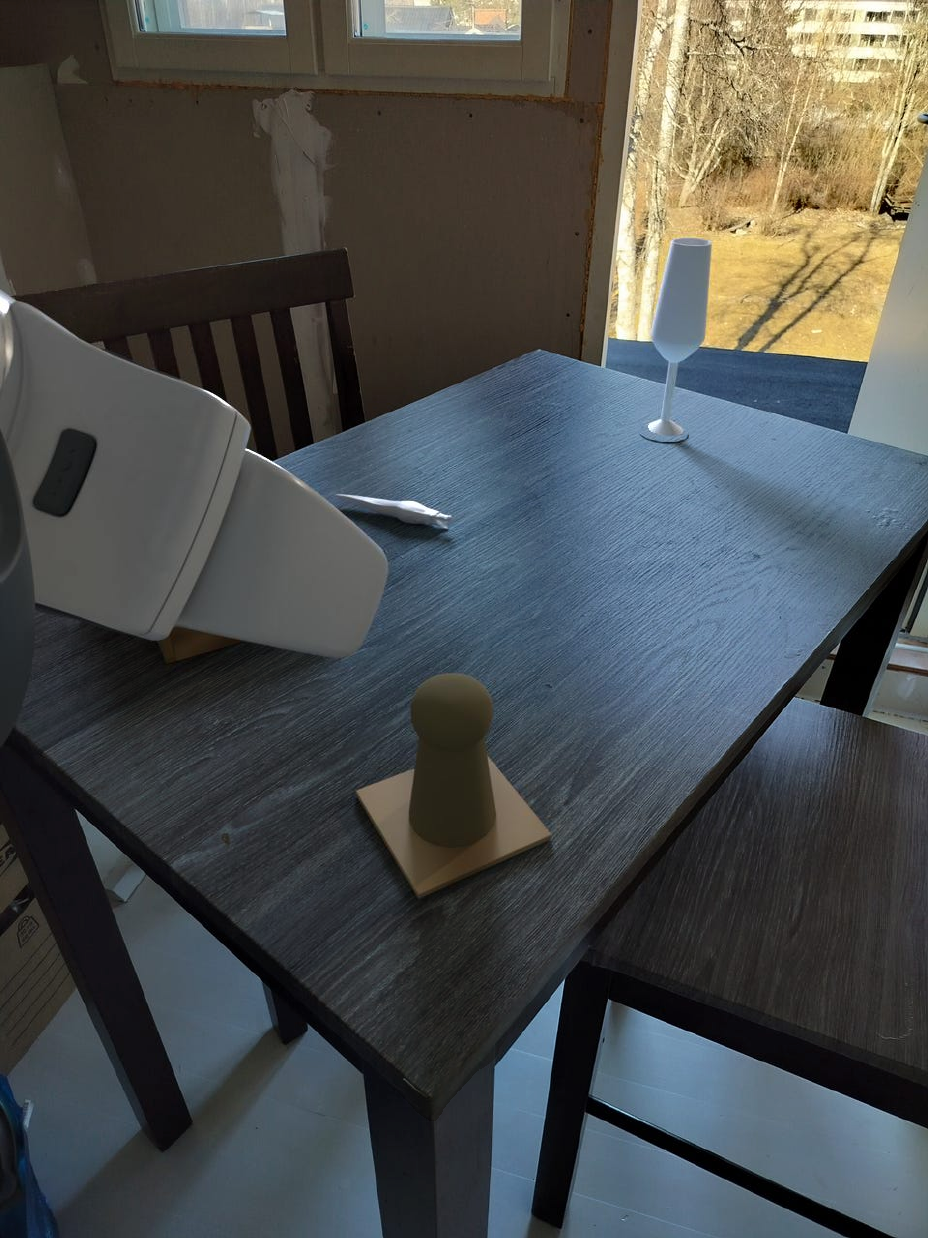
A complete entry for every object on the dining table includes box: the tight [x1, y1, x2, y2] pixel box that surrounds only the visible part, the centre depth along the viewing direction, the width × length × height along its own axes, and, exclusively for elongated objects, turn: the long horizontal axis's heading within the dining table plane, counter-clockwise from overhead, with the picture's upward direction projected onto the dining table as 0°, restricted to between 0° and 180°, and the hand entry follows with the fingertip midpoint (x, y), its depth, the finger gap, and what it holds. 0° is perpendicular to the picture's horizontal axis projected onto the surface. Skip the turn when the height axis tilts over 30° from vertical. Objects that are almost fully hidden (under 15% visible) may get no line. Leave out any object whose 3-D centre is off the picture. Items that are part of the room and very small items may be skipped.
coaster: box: [355, 756, 552, 900], centre depth 59 cm, size 10×10×1 cm
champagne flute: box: [648, 237, 713, 436], centre depth 108 cm, size 7×7×24 cm
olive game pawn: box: [409, 672, 496, 848], centre depth 55 cm, size 6×6×11 cm
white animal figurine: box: [334, 493, 454, 530], centre depth 94 cm, size 15×3×2 cm, turn 65°
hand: (234, 576), depth 37 cm, fingers open, 8 cm apart
